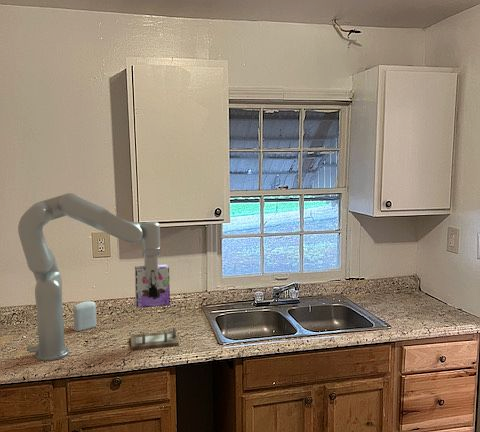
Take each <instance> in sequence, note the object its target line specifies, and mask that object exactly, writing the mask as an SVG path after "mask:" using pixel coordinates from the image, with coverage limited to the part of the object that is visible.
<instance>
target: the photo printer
mask: <svg viewBox="0 0 480 432" xmlns="http://www.w3.org/2000/svg"><path fill="white" fill-rule="evenodd" d="M72 311H73V330H74V332H79V331H80V332H81V331H84V330H85V331H86V330H89V329H93V328H95V327H97V324H98V323H97V305H96V302H95V301H92V300H91V301H89V300H88V301H82V302H80V303H76V304H75V305H73V309H72Z"/></svg>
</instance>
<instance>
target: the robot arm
mask: <svg viewBox="0 0 480 432" xmlns="http://www.w3.org/2000/svg"><path fill="white" fill-rule="evenodd" d="M63 217H68V218H71V219H74V220H76V221H79V222H81V223H83V224H84V225H85V224H86V225H88V226H90V227H92V228H95V229H96V230H99V231H101V232H103V233H106V234H108V235H110V236H112V237H115V238H117V239H119V240H121V241H124V242H126V243H129V244H137V243H140V241H141V257H144V266H145V270H146V281H148V280H149V286H150V287H149V297H157V287H156V280H157V279H158V265H159V259H158V258H159V257H160V256H161V254H162V253H161V227H160V226H161V225H160V223H159V222H156V221H146V222H138V221H137V222H136V221H128V220H125V219H123V218H121V217H119V216H117V215H115V214H114V213H112V212H110V211H109V210H108V209H106V208H105V207H103V206H100V205H97V204H95V203H93V202H90V201H88V200H87V199H84V198H81V197H80V196H79V195H77V194H76V193H72V192H70V193H69V192H68V193H64V194H60V195H57V196H55V197H51V198H47V199H44V200H41V201H37V202H35V203H34V204H32V206H30V207H29V208H28V209H27V210H26V211H25V212H24V213H23V214H22V216H21V217H20V219H19V221H18V226H17V233H18V236H19V241H20V244H21V247H22V250H23V253H24V257H25V259H26V264H27V267H28V269H29V271H31V273H33V276H34V278H35V282H36V283H35V287H34V296H35V297H34V299H35V306H36V320H37V321H36V322H37V323H36V324H37V335H38V336H37V337H38V344H36V345H27V347H26V351H27V352H29V353H32V354H33V353H35V354H34V355H35V356H34V357H35V359H36V360H39V361H46V362H47V361H54V360H59V359H62V358H64V357H67V356H68V355H69V354H70V348H69V347H68V346H66V345H65V326H64V323H65V322H64V311H63V310H64V309H63V308H64V307H63V279H62V277H61V273H60V269H59V266H58V263H57V261H56V257H55V255H54V252H53V251H52V250H51V249H50V248H49V247H48V245H47V241H46V237H45V235H44V230H43V229H44V226H45V225H47V224H48V223H49V222H50V221H53V220H56V219H60V218H63ZM150 278H152V280H150Z"/></svg>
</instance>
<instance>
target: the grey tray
mask: <svg viewBox="0 0 480 432" xmlns="http://www.w3.org/2000/svg"><path fill="white" fill-rule="evenodd" d="M176 328H177V327H175V326H174V327H172V330H171V331H163V332H162V331H160V332H152V333H151V332H150V333H141V334H132V335H130V345H131V351H137V350H145V349H147V348H148V349H156V347H157V348H166V346H167V347H174V346H176V345H177V346H180V343H179V342H180V341H179V339H178V337H177V336H178V335H177V333H176V332H177V329H176ZM148 349H147V350H148Z"/></svg>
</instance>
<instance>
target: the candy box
mask: <svg viewBox="0 0 480 432" xmlns="http://www.w3.org/2000/svg"><path fill="white" fill-rule="evenodd" d="M134 280H135V281H134V284H135V286H134V287H135V307H136V308H137V309H138V308H139V309H141V308H149V307H150V308H151V307H152V308H153V307H163V306H170V305H171V297H170V296H171V295H170V293H171V291H170V267H169V265H168V264H158V279H157V280H156V287H157V297H149V287H150V286H149V280H148V281H146V270H145V265H139V266H137V265H135V266H134ZM150 280H152V278H150Z"/></svg>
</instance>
